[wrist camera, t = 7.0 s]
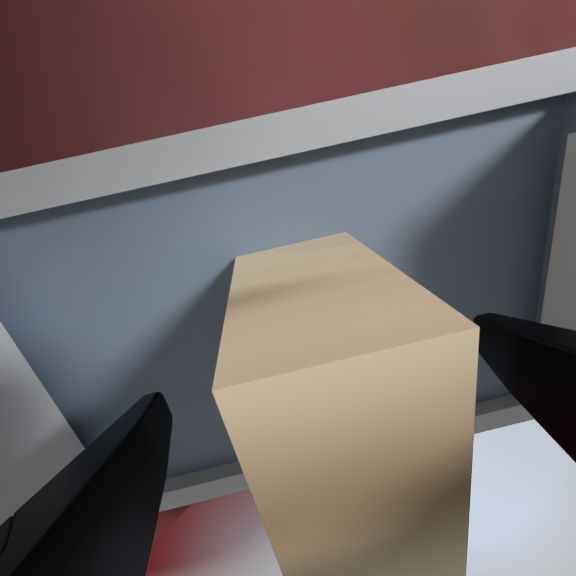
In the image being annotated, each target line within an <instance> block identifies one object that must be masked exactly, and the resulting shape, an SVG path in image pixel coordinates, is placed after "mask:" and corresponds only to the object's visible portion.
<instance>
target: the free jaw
mask: <svg viewBox="0 0 576 576" xmlns="http://www.w3.org/2000/svg"><path fill="white" fill-rule="evenodd" d="M84 449H85V448H84V447H83V445H82V444H81V442H80V441H79V439H78V438H77V436H76V435H75V433H74V431H73V430H72V428H71V427H70V425H69V424H68V422H67V421H66V419H65V418H64V416H63V415H62V413H61V412H60V410H59V409H58V407H57V406H56V404H55V403H54V401H53V400H52V398H51V397H50V395H49V394H48V392H47V391H46V389H45V388H44V386H43V385H42V383H41V382H40V380H39V379H38V377H37V376H36V374H35V373H34V371H33V370H32V368H31V367H30V365H29V364H28V362H27V361H26V359H25V358H24V356H23V355H22V353H21V352H20V350H19V349H18V347H17V346H16V344H15V343H14V341H13V340H12V338H11V337H10V335H9V334H8V332H7V331H6V329H5V328H4V326H3V325H2V323H1V322H0V525H1V524H2V523H3V522H4V521H6V520H7V519H8V518H9V517H10V516H14V513H15V512H16V511H17V510H18V509H19V508H20V507H21V506H22V505H23V504H24V503H26V502H27V501H28V500H29V499H30V498H31V497H32V496H33V495H34V494H35V493H37V492H38V491H39V490H40V489H41V488H42V487H43V486H44V485H45V484H46V483H48V482H49V481H50V480H51V479H52V478H53V477H54V476H55V475H56V474H58V473H59V472H60V471H61V470H62V469H63V468H64V467H65V466H66V465H67V464H69V463H70V462H71V461H72V460H73V459H74V458H75V457H76V456H77V455H78V454H80V453H81V452H82V451H83V450H84Z"/></svg>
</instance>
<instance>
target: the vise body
mask: <svg viewBox="0 0 576 576" xmlns="http://www.w3.org/2000/svg"><path fill="white" fill-rule="evenodd" d="M343 232H347V233H348V234H349V235H351V236H352V237H354V238H355V239H357V240H358V241H359V242H361V243H362V244H364V245H365V246H366V247H368V248H369V249H371V250H372V251H373V252H375V253H376V254H378V255H379V256H380V257H382V258H383V259H385V260H386V261H388V262H389V263H390V264H392V265H393V266H395V267H396V268H397V269H399V270H400V271H402V272H403V273H404V274H406V275H407V276H409V277H410V278H411V279H413V280H414V281H416V282H417V283H418V284H420V285H421V286H423V287H424V288H426V289H427V290H428V291H430V292H431V293H433V294H434V295H435V296H437V297H438V298H440V299H441V300H442V301H444V302H445V303H447V304H448V305H449V306H451V307H452V308H454V309H455V310H456V311H458V312H459V313H461V314H462V315H464V316H465V317H466V318H468V319H469V320H471V321H472V322H473V319H474V317H475V316H477V315H480V314H484V313H496V314H500V315H505V316H510V317H514V318H519V319H524V320H529V321H533V322H538V323H543V324H547V325H552V326H557V327H561V328H566V329H571V330H575V331H576V47H574V48H569V49H565V50H560V51H555V52H551V53H546V54H542V55H537V56H532V57H528V58H523V59H519V60H514V61H510V62H505V63H500V64H496V65H491V66H487V67H482V68H478V69H473V70H468V71H464V72H459V73H455V74H450V75H445V76H441V77H436V78H432V79H427V80H423V81H418V82H413V83H409V84H404V85H400V86H395V87H390V88H386V89H381V90H377V91H372V92H368V93H363V94H358V95H354V96H349V97H345V98H340V99H336V100H331V101H326V102H322V103H317V104H313V105H308V106H303V107H299V108H294V109H290V110H285V111H281V112H276V113H271V114H267V115H262V116H258V117H253V118H249V119H244V120H239V121H235V122H230V123H226V124H221V125H216V126H212V127H207V128H203V129H198V130H194V131H189V132H184V133H180V134H175V135H171V136H166V137H162V138H157V139H152V140H148V141H143V142H139V143H134V144H129V145H125V146H120V147H116V148H111V149H107V150H102V151H97V152H93V153H88V154H84V155H79V156H75V157H70V158H65V159H61V160H56V161H52V162H47V163H42V164H38V165H33V166H29V167H24V168H20V169H15V170H10V171H6V172H1V173H0V322H1V323H2V325H3V326H4V328H5V329H6V331H7V332H8V334H9V335H10V337H11V338H12V340H13V341H14V343H15V344H16V346H17V347H18V349H19V350H20V352H21V353H22V355H23V356H24V358H25V359H26V361H27V362H28V364H29V365H30V367H31V368H32V370H33V371H34V373H35V374H36V376H37V377H38V379H39V380H40V382H41V383H42V385H43V386H44V388H45V389H46V391H47V392H48V394H49V395H50V397H51V398H52V400H53V401H54V403H55V404H56V406H57V407H58V409H59V410H60V412H61V413H62V415H63V416H64V418H65V419H66V421H67V422H68V424H69V425H70V427H71V428H72V430H73V431H74V433H75V435H76V436H77V438H78V439H79V441H80V442H81V444H82V445H83V447H84V448H86V447H87V446H88V445H90V444H91V443H92V442H93V441H94V440H95V439H96V438H97V437H98V436H99V435H101V434H102V433H103V432H104V431H105V430H106V429H107V428H108V427H109V426H110V425H112V424H113V423H114V422H115V421H116V420H117V419H118V418H119V417H120V416H122V415H123V414H124V413H125V412H126V411H127V410H128V409H129V408H130V407H131V406H133V405H134V404H135V403H136V402H137V401H138V400H139V399H140V398H141V397H142V396H144V395H145V394H149V393H153V392H157V391H159V392H161V393H162V394H163V396H164V398H165V400H166V402H167V404H168V406H169V408H170V411H171V413H172V417H173V423H172V432H171V442H170V451H169V460H168V468H167V476H166V481H165V486H164V491H163V496H162V500H161V505H160V509H159V512H161V511H165V510H169V509H173V508H177V507H181V506H185V505H189V504H193V503H197V502H201V501H205V500H209V499H214V498H218V497H222V496H226V495H230V494H234V493H238V492H242V491H246V490H250V489H249V486H248V483H247V481H246V478H245V476H244V473H243V471H242V468H241V465H240V463H239V460H238V458H237V455H236V452H235V450H234V447H233V445H232V442H231V440H230V437H229V434H228V432H227V429H226V427H225V424H224V421H223V419H222V416H221V414H220V411H219V408H218V406H217V403H216V401H215V398H214V396H213V393H212V386H213V381H214V375H215V370H216V364H217V359H218V353H219V347H220V342H221V336H222V331H223V325H224V320H225V314H226V309H227V303H228V297H229V292H230V286H231V281H232V275H233V270H234V264H235V258H236V257H238V256H243V255H247V254H251V253H256V252H260V251H265V250H269V249H273V248H278V247H282V246H286V245H291V244H295V243H300V242H304V241H308V240H313V239H317V238H322V237H326V236H330V235H335V234H339V233H343ZM532 419H534V418H533V417H532V416H531V415H530V414H529V413H528V412H527V411H526V409H525V408H524V407H523V406H522V405H521V404H520V403H519V402H518V401H517V400H516V399H515V398H514V397H513V395H512V394H511V393H510V392H509V391H508V390H507V388H506V387H505V386H504V385H503V384H502V382H501V381H500V380H499V378H498V377H497V376H496V375H495V373H494V372H493V371H492V369H491V368H490V367H489V366H488V364H487V363H486V362H485V360H484V359H483V358H482V357H481V355H480V354H479V353H478V367H477V385H476V403H475V421H474V434H476V433H480V432H484V431H487V430H492V429H495V428H500V427H504V426H508V425H512V424H516V423H520V422H524V421H528V420H532Z"/></svg>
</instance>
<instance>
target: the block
mask: <svg viewBox="0 0 576 576" xmlns="http://www.w3.org/2000/svg"><path fill="white" fill-rule="evenodd" d="M479 331H480V327H479V326H478V325H476V324H475V323H473V322H472V321H471V320H469V319H468V318H466V317H465V316H464V315H462V314H461V313H459V312H458V311H456V310H455V309H454V308H452V307H451V306H449V305H448V304H447V303H445V302H444V301H442V300H441V299H440V298H438V297H437V296H435V295H434V294H433V293H431V292H430V291H428V290H427V289H426V288H424V287H423V286H421V285H420V284H418V283H417V282H416V281H414V280H413V279H411V278H410V277H409V276H407V275H406V274H404V273H403V272H402V271H400V270H399V269H397V268H396V267H395V266H393V265H392V264H390V263H389V262H388V261H386V260H385V259H383V258H382V257H380V256H379V255H378V254H376V253H375V252H373V251H372V250H371V249H369V248H368V247H366V246H365V245H364V244H362V243H361V242H359V241H358V240H357V239H355V238H354V237H352V236H351V235H349V234H348V233H347V232H343V233H339V234H335V235H330V236H326V237H322V238H317V239H313V240H308V241H304V242H300V243H295V244H291V245H286V246H282V247H278V248H273V249H269V250H265V251H260V252H256V253H251V254H247V255H243V256H238V257H236V258H235V264H234V270H233V275H232V281H231V286H230V292H229V297H228V303H227V309H226V314H225V320H224V325H223V331H222V336H221V342H220V347H219V353H218V359H217V364H216V370H215V375H214V381H213V386H212V393H213V396H214V398H215V401H216V403H217V406H218V408H219V411H220V414H221V416H222V419H223V421H224V424H225V427H226V429H227V432H228V434H229V437H230V440H231V442H232V445H233V447H234V450H235V452H236V455H237V458H238V460H239V463H240V465H241V468H242V471H243V473H244V476H245V478H246V481H247V483H248V486H249V489H250V491H251V494H252V496H253V499H254V501H255V504H256V506H257V509H258V512H259V514H260V517H261V520H262V522H263V525H264V527H265V530H266V532H267V535H268V538H269V540H270V543H271V545H272V548H273V551H274V553H275V556H276V558H277V561H278V564H279V566H280V568H281V571H282V574H283V576H466V563H467V546H468V528H469V510H470V509H469V508H470V491H471V473H472V455H473V438H474V421H475V403H476V385H477V367H478V349H479Z"/></svg>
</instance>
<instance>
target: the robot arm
mask: <svg viewBox="0 0 576 576" xmlns="http://www.w3.org/2000/svg"><path fill="white" fill-rule="evenodd" d="M473 323H475V324H476V325H478V326H479V327H480V331H479V349H478V353H479V354H480V355H481V357H482V358H483V359H484V360H485V362H486V363H487V364H488V366H489V367H490V368H491V369H492V371H493V372H494V373H495V375H496V376H497V377H498V378H499V380H500V381H501V382H502V384H503V385H504V386H505V387H506V388H507V390H508V391H509V392H510V393H511V394H512V395H513V397H514V398H515V399H516V400H517V401H518V402H519V403H520V404H521V405H522V406H523V407H524V408H525V409H526V411H527V412H528V413H529V414H530V415H531V416H532V417H533V418H534V419H535V420H536V421H537V422H538V423H539V424H540V425H541V426H542V427H543V429H544V430H545V431H546V432H547V433H548V434H549V435H550V436H551V437H552V438H553V439H554V440H555V441H556V442H557V443H558V444H559V445H560V447H561V448H562V449H563V450H564V451H565V452H566V453H567V454H568V455H569V456H570V457H571V458H572V459H573V460H574V461H575V462H576V331H575V330H571V329H566V328H561V327H557V326H552V325H547V324H543V323H538V322H533V321H529V320H524V319H519V318H514V317H510V316H505V315H500V314H496V313H484V314H480V315H477V316H475V317H474V319H473ZM172 423H173V417H172V413H171V411H170V408H169V406H168V404H167V402H166V400H165V398H164V396H163V394H162V393H161V392H159V391H157V392H153V393H149V394H145V395H144V396H142V397H141V398H140V399H139V400H138V401H137V402H136V403H135V404H134V405H133V406H131V407H130V408H129V409H128V410H127V411H126V412H125V413H124V414H123V415H122V416H120V417H119V418H118V419H117V420H116V421H115V422H114V423H113V424H112V425H110V426H109V427H108V428H107V429H106V430H105V431H104V432H103V433H102V434H101V435H99V436H98V437H97V438H96V439H95V440H94V441H93V442H92V443H91V444H90V445H88V446H87V447H86V448H85V449H84V450H83V451H82V452H81V453H80V454H78V455H77V456H76V457H75V458H74V459H73V460H72V461H71V462H70V463H69V464H67V465H66V466H65V467H64V468H63V469H62V470H61V471H60V472H59V473H58V474H56V475H55V476H54V477H53V478H52V479H51V480H50V481H49V482H48V483H46V484H45V485H44V486H43V487H42V488H41V489H40V490H39V491H38V492H37V493H35V494H34V495H33V496H32V497H31V498H30V499H29V500H28V501H27V502H26V503H24V504H23V505H22V506H21V507H20V508H19V509H18V510H17V511H16V512H15V513H14V516H10V517H9V518H8V519H7V520H6V521H4V522H3V523H2V524H1V525H0V576H145V574H146V569H147V564H148V560H149V555H150V551H151V546H152V542H153V537H154V532H155V528H156V523H157V519H158V514H159V509H160V505H161V500H162V496H163V491H164V486H165V481H166V476H167V468H168V460H169V451H170V442H171V432H172Z"/></svg>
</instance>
